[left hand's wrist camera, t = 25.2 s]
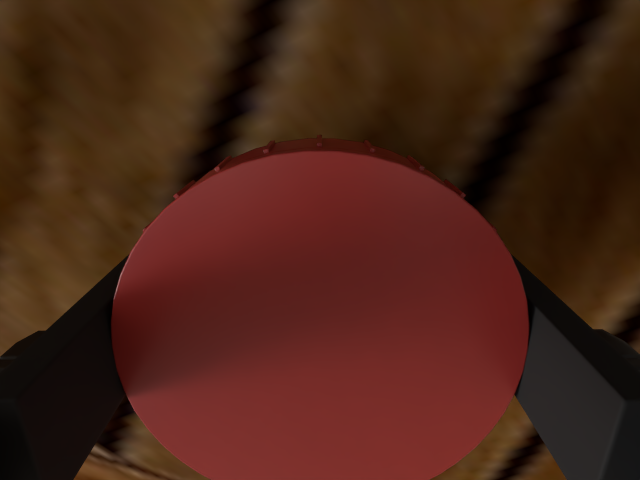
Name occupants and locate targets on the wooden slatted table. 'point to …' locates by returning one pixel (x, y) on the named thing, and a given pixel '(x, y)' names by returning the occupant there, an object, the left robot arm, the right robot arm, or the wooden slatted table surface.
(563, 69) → the wooden slatted table surface
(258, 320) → the lid
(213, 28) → the wooden slatted table surface
